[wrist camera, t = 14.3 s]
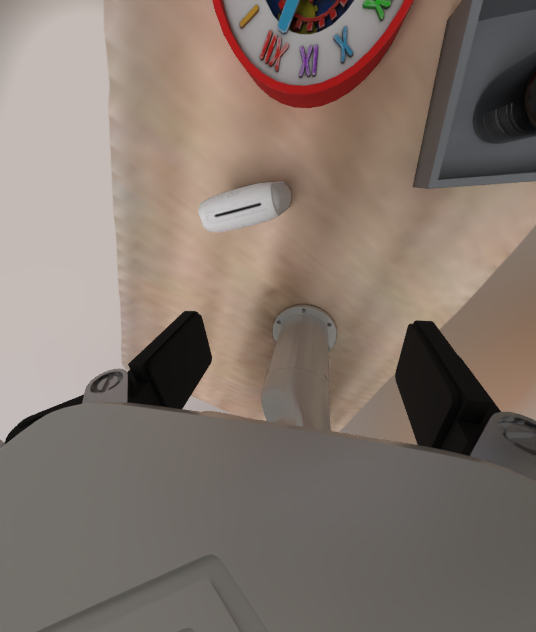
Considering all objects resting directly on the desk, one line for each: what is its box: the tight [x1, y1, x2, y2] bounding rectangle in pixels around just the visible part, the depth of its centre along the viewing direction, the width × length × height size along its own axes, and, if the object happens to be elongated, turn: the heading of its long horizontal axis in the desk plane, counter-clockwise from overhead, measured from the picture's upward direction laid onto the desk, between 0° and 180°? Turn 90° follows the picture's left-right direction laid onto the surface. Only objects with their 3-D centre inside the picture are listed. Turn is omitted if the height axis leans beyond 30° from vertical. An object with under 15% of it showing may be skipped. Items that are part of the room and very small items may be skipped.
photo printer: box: [199, 181, 291, 232], centre depth 31 cm, size 10×4×12 cm, turn 104°
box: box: [413, 0, 536, 189], centre depth 23 cm, size 15×15×6 cm
